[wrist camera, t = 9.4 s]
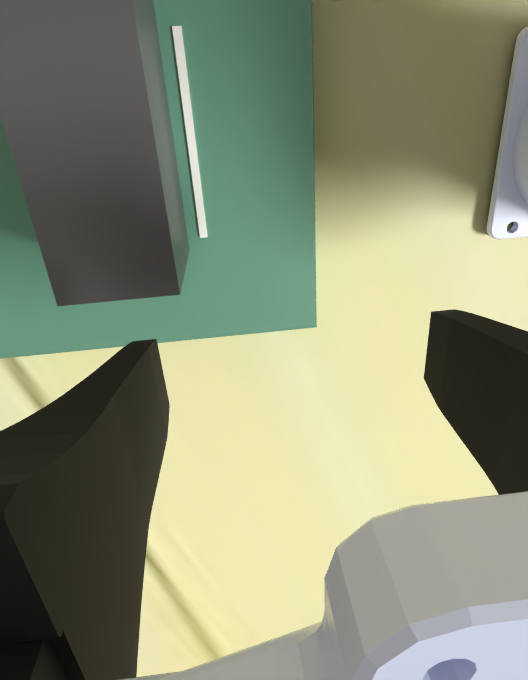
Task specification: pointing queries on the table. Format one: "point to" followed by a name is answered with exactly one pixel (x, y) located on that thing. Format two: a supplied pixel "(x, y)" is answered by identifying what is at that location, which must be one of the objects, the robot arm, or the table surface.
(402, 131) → the table surface
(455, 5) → the table surface
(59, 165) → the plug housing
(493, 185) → the robot arm
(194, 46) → the header board
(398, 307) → the table surface
